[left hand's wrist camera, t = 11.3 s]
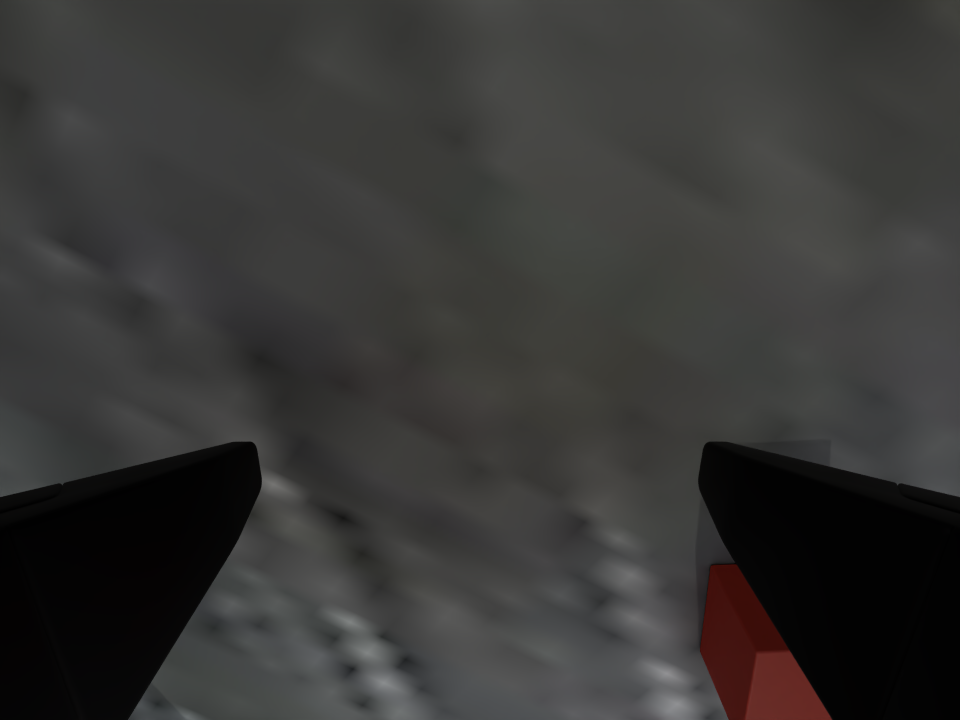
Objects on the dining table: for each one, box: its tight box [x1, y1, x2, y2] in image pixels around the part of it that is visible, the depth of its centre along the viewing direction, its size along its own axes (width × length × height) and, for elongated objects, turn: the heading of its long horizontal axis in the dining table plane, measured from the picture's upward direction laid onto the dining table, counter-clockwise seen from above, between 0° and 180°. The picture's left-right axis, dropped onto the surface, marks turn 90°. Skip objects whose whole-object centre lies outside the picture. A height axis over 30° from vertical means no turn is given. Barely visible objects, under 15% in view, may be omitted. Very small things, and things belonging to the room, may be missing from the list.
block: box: [700, 564, 832, 720], centre depth 21 cm, size 5×4×4 cm
